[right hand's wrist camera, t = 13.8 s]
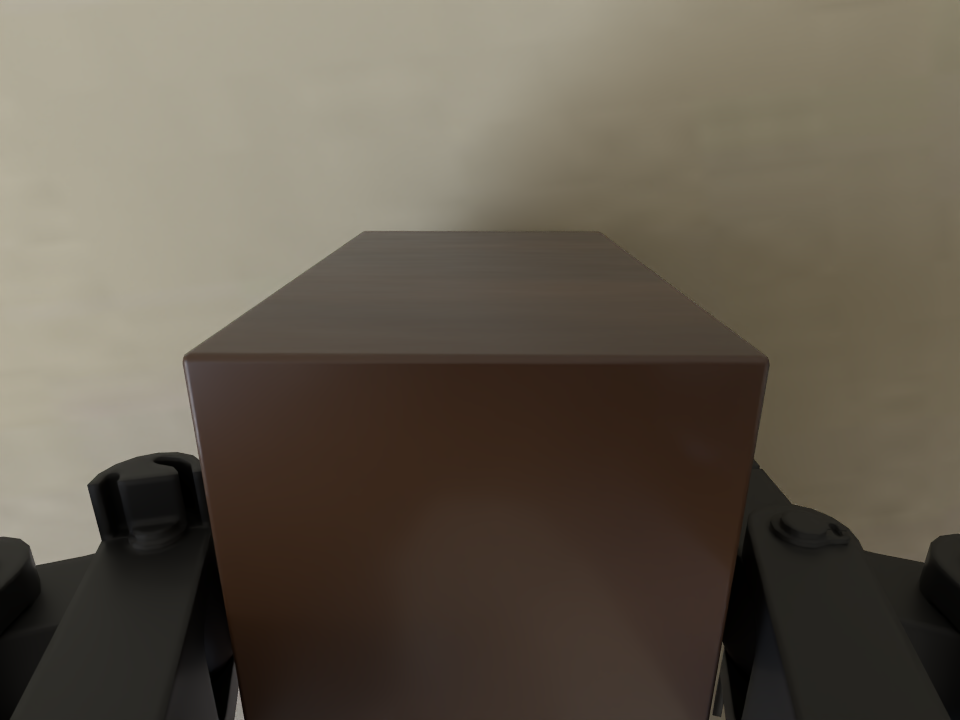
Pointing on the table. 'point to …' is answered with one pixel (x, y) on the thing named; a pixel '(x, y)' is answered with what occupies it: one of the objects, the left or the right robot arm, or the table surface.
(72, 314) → the table surface
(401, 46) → the table surface
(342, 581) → the plank
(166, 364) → the table surface
